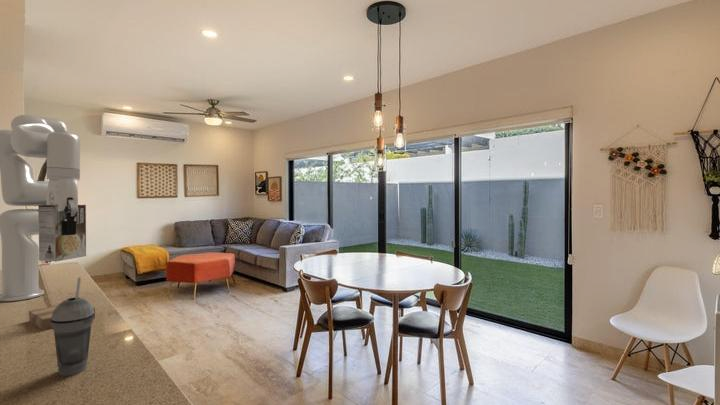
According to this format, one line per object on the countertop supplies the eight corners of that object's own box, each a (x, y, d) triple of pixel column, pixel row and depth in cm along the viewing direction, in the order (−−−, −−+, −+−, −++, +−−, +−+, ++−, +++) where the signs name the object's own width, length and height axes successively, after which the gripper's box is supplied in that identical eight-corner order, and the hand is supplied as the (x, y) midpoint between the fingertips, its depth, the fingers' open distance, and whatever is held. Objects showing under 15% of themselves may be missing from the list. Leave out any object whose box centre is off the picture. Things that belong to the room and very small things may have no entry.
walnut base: (29, 321, 102) (29, 311, 102) (78, 310, 112) (79, 301, 112) (43, 330, 96) (43, 319, 96) (94, 318, 106) (94, 308, 106)
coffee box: (70, 255, 109) (70, 204, 109) (86, 256, 108) (87, 204, 107) (37, 260, 100) (37, 204, 100) (55, 261, 99) (55, 205, 98)
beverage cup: (67, 362, 78) (68, 273, 78) (101, 362, 78) (102, 273, 78) (40, 379, 71) (41, 281, 70) (78, 378, 71) (79, 281, 71)
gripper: (37, 174, 105) (36, 232, 105) (58, 173, 96) (58, 237, 96) (68, 176, 111) (67, 231, 111) (91, 175, 102) (90, 235, 102)
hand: (63, 233), depth 104 cm, fingers closed on coffee box, 8 cm apart
